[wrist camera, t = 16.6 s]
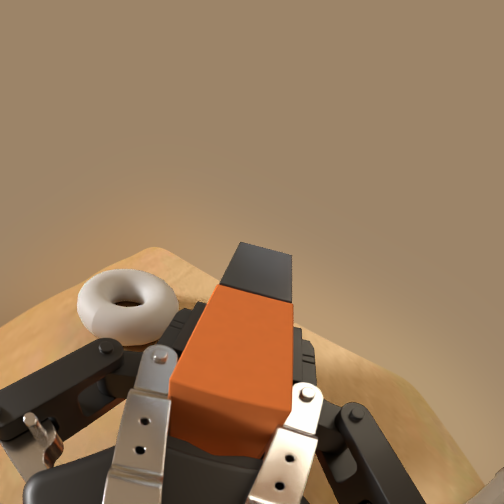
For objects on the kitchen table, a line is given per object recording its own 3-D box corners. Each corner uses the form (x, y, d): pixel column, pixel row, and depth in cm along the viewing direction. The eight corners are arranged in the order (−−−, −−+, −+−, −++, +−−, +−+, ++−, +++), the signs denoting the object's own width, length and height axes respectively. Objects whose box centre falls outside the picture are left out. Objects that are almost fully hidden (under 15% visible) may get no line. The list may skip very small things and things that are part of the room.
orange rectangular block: (245, 425, 16) (293, 303, 12) (230, 502, 11) (292, 411, 7) (194, 411, 16) (217, 283, 13) (167, 486, 11) (168, 379, 7)
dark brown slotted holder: (289, 380, 23) (338, 267, 19) (275, 559, 8) (402, 518, 4) (177, 351, 23) (193, 229, 19) (97, 512, 8) (13, 418, 4)
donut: (186, 303, 30) (103, 281, 29) (190, 276, 29) (104, 254, 28) (163, 368, 21) (60, 333, 20) (166, 337, 20) (55, 301, 19)
